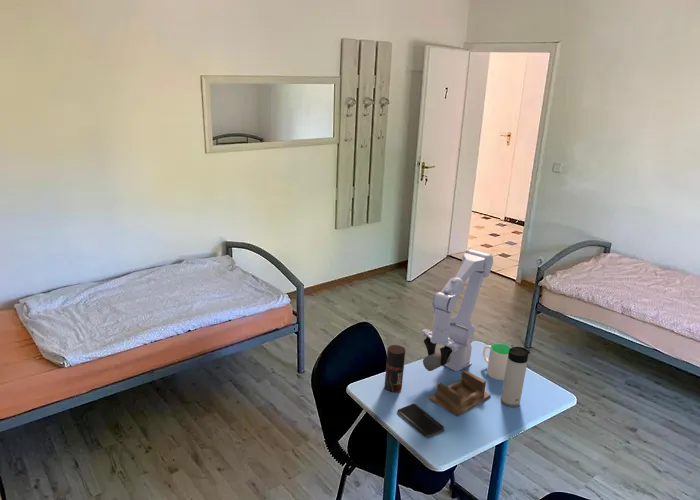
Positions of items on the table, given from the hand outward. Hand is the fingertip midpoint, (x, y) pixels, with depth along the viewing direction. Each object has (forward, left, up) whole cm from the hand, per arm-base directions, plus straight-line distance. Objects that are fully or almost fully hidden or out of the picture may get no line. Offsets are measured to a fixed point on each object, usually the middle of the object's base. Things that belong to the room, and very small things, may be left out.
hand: (437, 361), depth 193 cm
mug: (-23, +9, -8) cm, 26 cm away
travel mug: (-11, +24, -8) cm, 28 cm away
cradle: (+1, +12, -8) cm, 15 cm away
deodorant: (+15, -6, -8) cm, 18 cm away
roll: (0, 0, -2) cm, 2 cm away
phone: (+21, +12, -9) cm, 26 cm away
